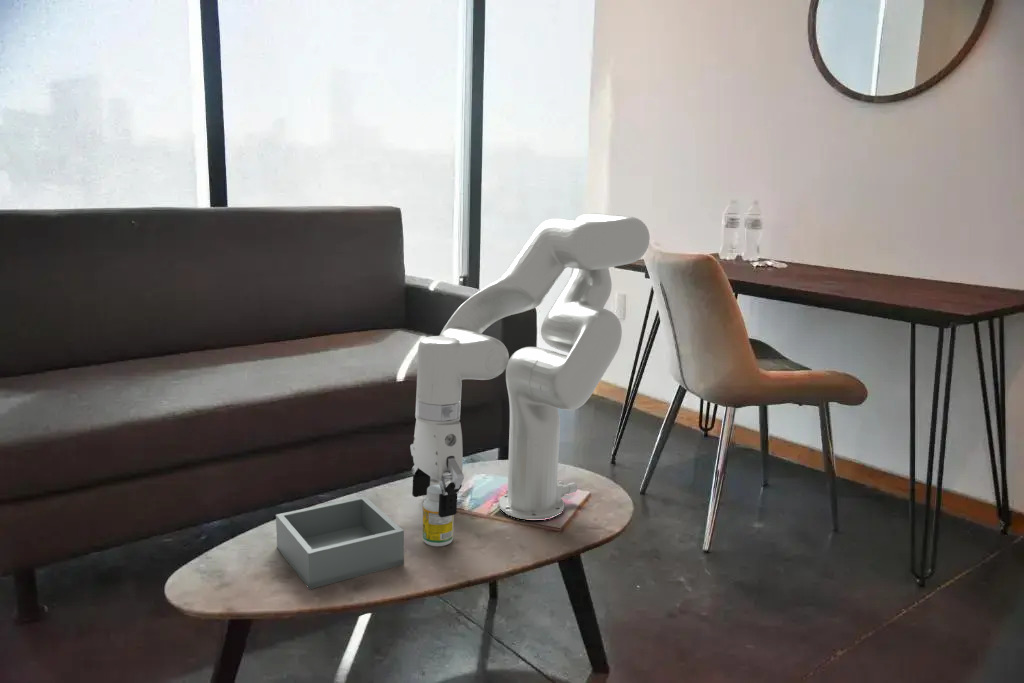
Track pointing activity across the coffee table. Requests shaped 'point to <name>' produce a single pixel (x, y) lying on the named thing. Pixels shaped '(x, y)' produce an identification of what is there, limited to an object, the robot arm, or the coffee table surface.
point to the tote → (339, 541)
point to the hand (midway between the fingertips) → (433, 505)
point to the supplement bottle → (436, 520)
